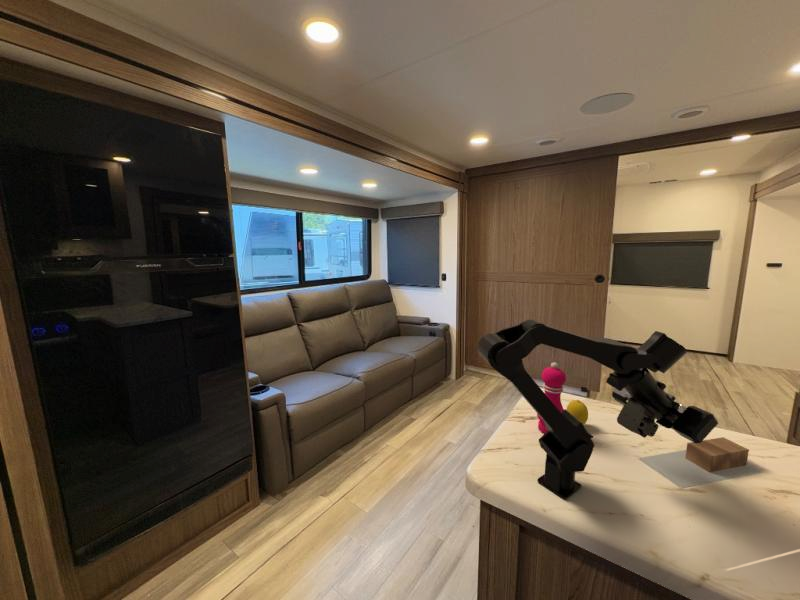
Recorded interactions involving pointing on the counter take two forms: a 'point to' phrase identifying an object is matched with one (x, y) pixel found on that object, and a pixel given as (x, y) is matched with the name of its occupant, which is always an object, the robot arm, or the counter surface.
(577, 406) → the lemon
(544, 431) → the pepper mill
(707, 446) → the walnut block
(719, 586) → the counter surface
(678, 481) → the strip
